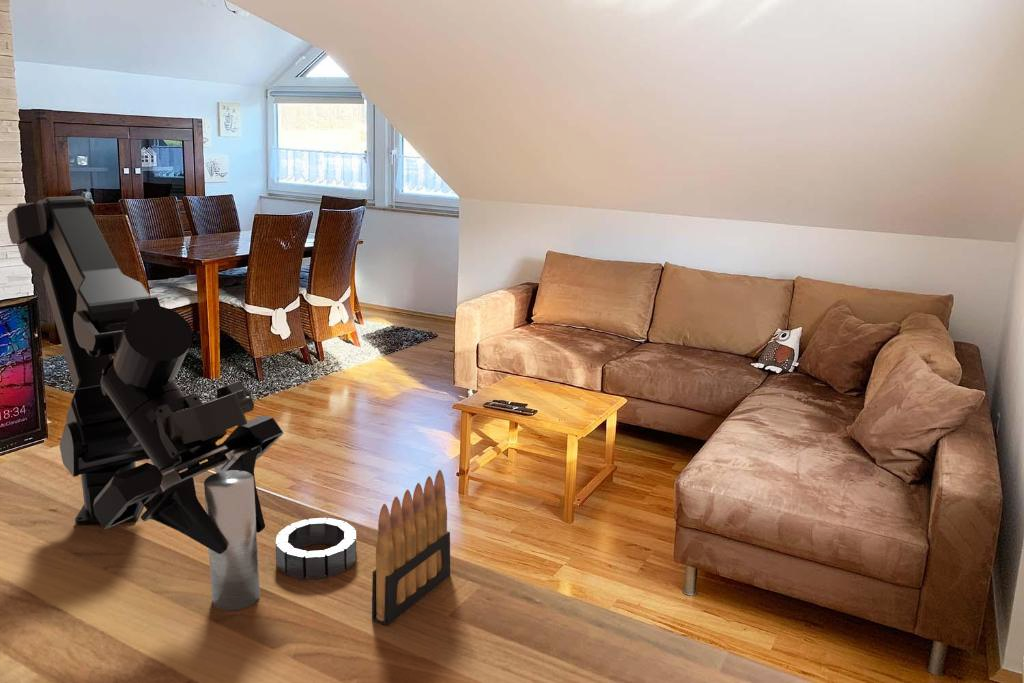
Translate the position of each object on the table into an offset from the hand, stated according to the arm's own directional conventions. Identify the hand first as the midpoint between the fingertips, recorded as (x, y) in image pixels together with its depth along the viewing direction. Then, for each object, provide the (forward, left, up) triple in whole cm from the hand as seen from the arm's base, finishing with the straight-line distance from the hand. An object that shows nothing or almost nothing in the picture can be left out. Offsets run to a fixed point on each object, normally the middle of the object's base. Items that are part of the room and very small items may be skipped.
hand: (243, 540), depth 81 cm
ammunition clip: (+1, +16, -7) cm, 17 cm away
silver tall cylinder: (-1, -1, -7) cm, 7 cm away
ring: (-7, +6, -7) cm, 12 cm away
